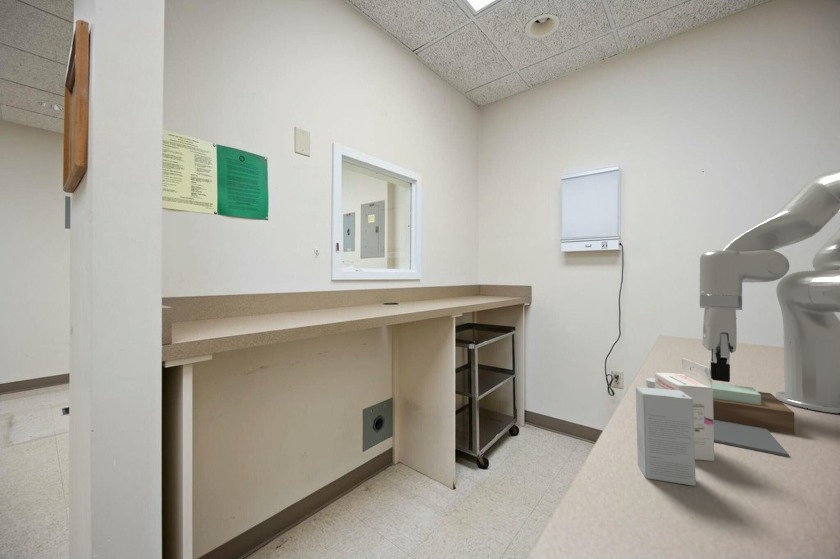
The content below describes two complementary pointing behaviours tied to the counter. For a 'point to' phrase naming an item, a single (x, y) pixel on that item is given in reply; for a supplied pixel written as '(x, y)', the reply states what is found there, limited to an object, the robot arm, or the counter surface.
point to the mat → (747, 437)
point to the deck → (756, 413)
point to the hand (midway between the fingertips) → (720, 380)
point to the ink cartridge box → (695, 403)
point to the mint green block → (736, 393)
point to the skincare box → (665, 435)
